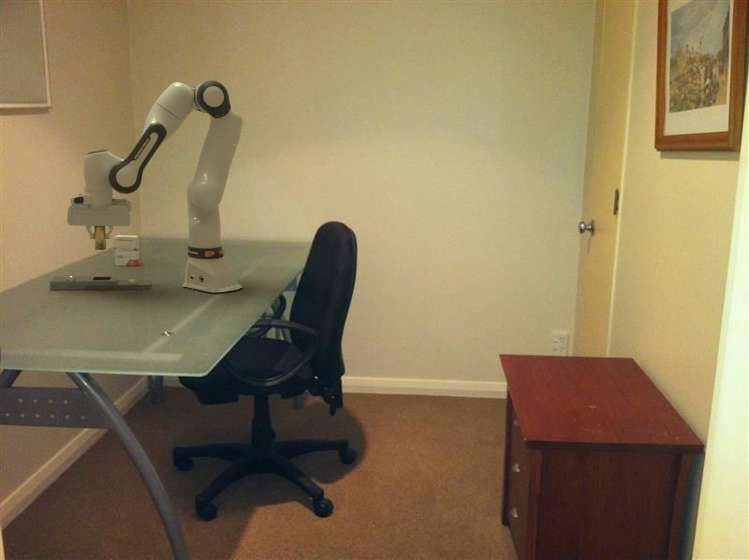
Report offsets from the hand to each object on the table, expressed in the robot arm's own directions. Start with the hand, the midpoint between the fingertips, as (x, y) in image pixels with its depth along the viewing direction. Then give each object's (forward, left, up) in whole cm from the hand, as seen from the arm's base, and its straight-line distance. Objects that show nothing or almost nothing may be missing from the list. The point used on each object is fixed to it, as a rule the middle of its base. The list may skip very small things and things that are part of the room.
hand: (100, 238), depth 239 cm
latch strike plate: (0, 0, -17) cm, 17 cm away
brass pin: (0, 0, -4) cm, 4 cm away
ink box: (+28, -26, -17) cm, 42 cm away
